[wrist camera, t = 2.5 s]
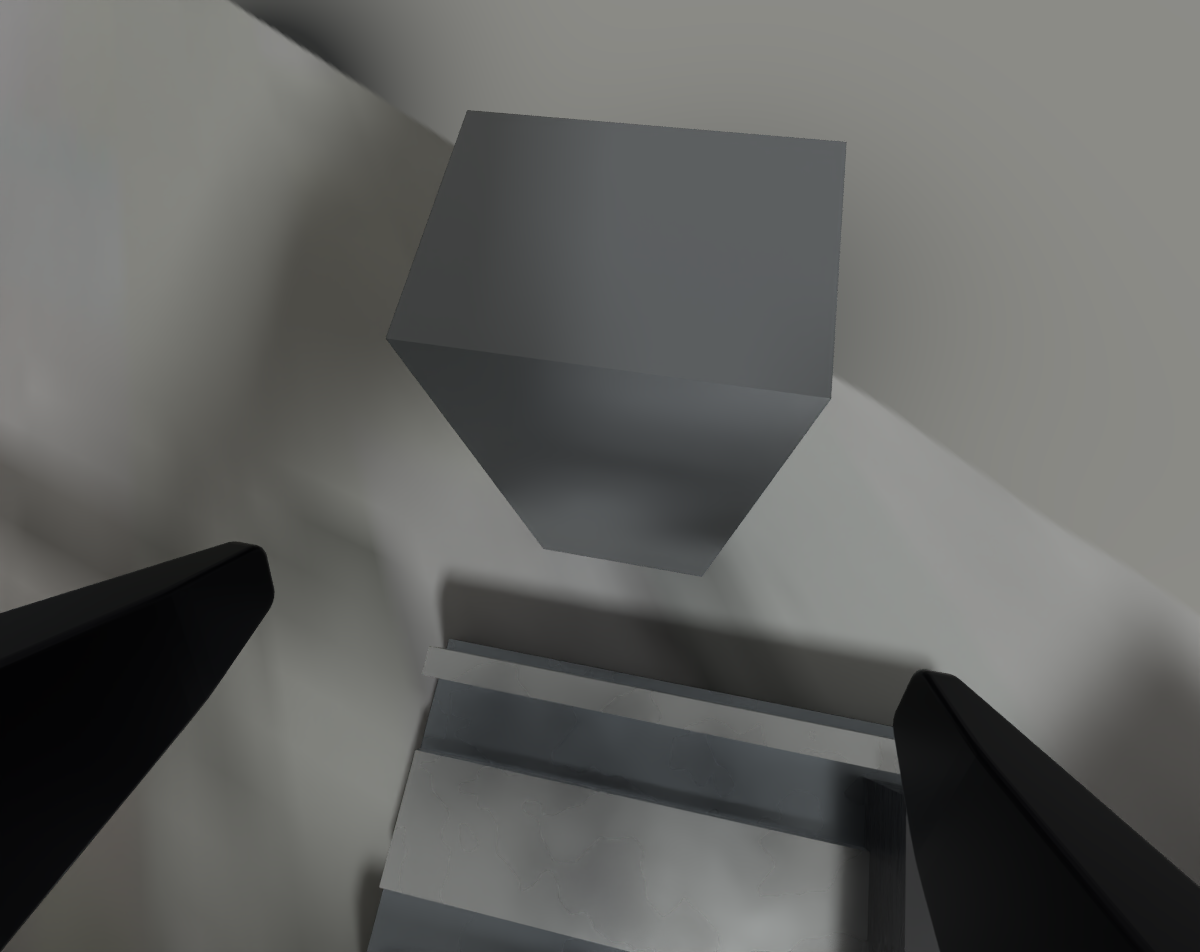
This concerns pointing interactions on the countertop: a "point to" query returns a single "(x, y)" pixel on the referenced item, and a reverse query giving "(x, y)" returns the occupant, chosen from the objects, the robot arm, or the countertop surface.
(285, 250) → the countertop surface
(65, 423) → the countertop surface
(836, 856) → the rail plate
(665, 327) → the block
